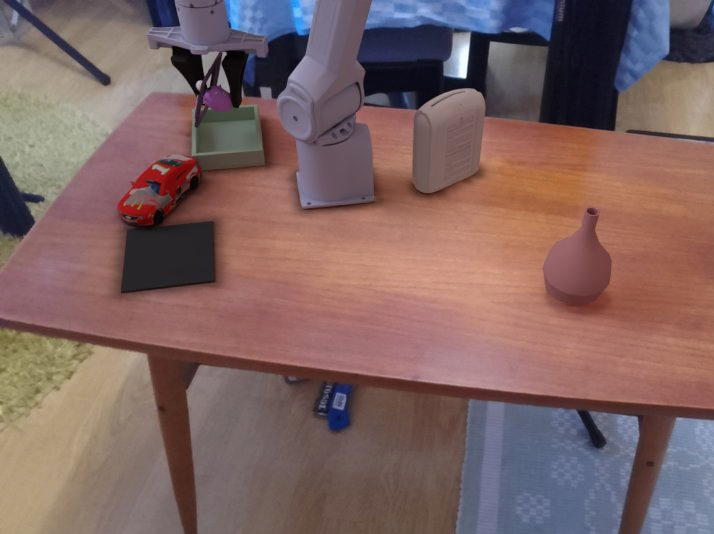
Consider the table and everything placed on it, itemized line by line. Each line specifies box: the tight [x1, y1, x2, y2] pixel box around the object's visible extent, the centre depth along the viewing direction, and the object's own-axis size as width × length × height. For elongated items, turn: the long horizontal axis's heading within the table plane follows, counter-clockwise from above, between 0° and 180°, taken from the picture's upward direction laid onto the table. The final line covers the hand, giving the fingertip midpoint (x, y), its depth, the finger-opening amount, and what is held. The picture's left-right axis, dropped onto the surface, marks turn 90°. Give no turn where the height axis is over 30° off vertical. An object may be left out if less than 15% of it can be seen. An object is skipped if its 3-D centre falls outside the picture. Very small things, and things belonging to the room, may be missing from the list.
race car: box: [116, 153, 203, 227], centre depth 86 cm, size 13×5×4 cm, turn 160°
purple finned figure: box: [194, 52, 240, 128], centre depth 91 cm, size 7×5×9 cm
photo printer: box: [411, 87, 487, 194], centre depth 89 cm, size 10×4×12 cm, turn 131°
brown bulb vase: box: [542, 206, 613, 307], centre depth 75 cm, size 8×8×12 cm
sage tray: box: [191, 103, 266, 172], centre depth 96 cm, size 9×12×2 cm
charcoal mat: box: [120, 220, 215, 294], centre depth 80 cm, size 10×11×1 cm
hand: (220, 103), depth 92 cm, fingers closed on purple finned figure, 4 cm apart
